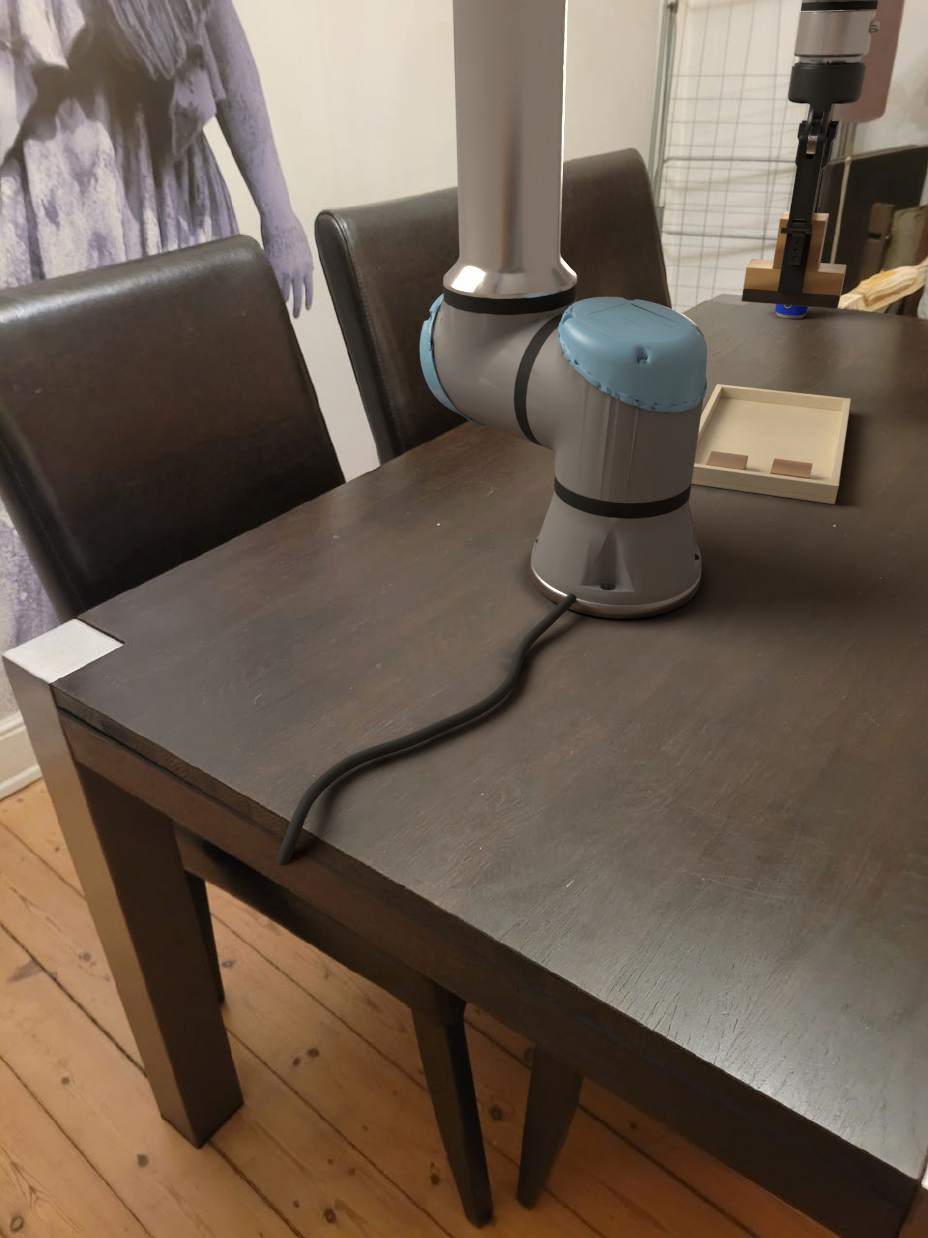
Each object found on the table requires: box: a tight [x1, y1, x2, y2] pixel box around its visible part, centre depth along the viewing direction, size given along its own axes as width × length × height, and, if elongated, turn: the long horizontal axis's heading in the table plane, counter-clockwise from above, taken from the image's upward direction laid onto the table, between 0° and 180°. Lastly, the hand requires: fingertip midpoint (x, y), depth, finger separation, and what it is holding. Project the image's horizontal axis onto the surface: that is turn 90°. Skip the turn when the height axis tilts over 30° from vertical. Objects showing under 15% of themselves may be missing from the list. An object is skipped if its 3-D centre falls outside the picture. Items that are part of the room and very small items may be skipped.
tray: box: [691, 383, 852, 505], centre depth 109 cm, size 28×17×2 cm, turn 158°
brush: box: [741, 211, 847, 310], centre depth 109 cm, size 4×11×10 cm, turn 68°
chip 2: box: [770, 459, 813, 479], centre depth 99 cm, size 4×4×2 cm
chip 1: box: [706, 451, 748, 470], centre depth 101 cm, size 4×4×2 cm
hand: (792, 286), depth 111 cm, fingers closed on brush, 4 cm apart
